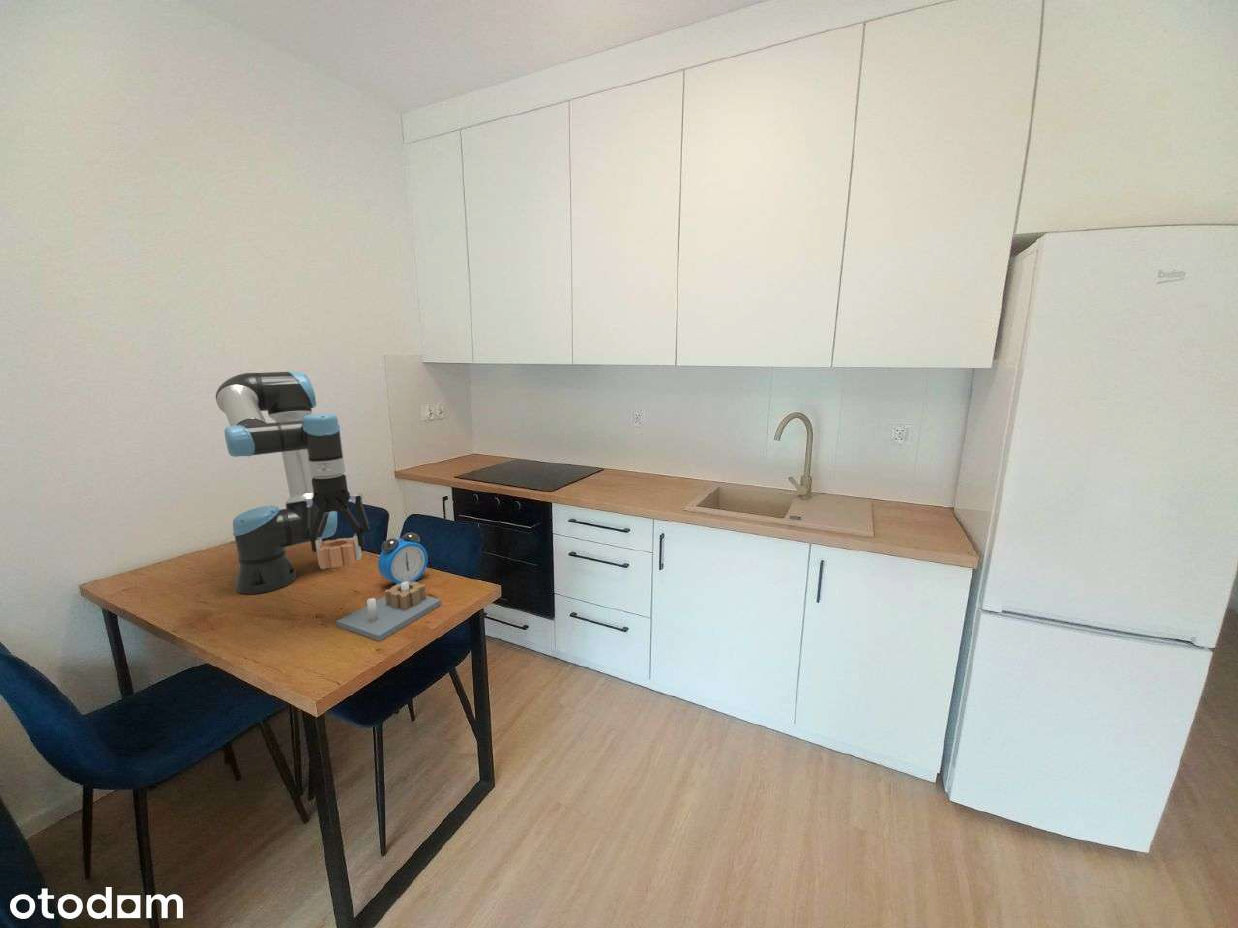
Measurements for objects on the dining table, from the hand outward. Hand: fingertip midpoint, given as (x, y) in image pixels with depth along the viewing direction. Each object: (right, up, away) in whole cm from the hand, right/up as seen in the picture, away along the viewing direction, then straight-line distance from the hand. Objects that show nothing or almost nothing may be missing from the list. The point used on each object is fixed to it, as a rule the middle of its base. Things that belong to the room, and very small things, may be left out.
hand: (340, 560), depth 128 cm
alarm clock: (+7, -12, +24) cm, 27 cm away
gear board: (+11, -16, +4) cm, 20 cm away
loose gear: (0, 0, 0) cm, 0 cm away
